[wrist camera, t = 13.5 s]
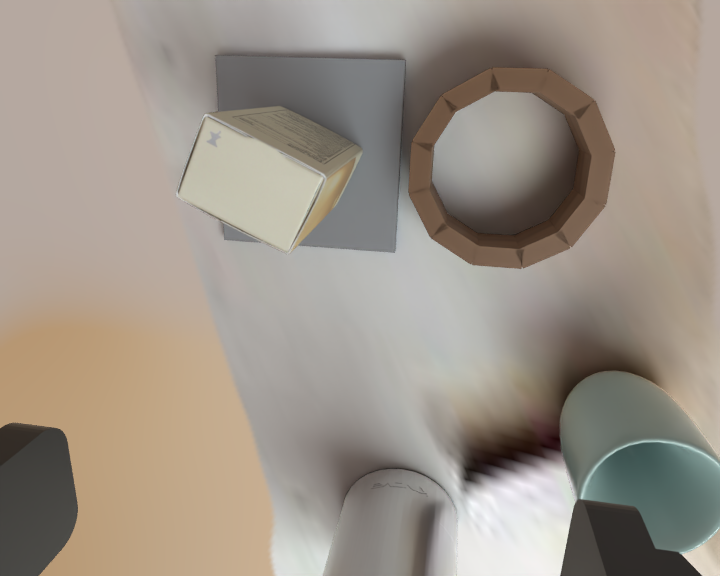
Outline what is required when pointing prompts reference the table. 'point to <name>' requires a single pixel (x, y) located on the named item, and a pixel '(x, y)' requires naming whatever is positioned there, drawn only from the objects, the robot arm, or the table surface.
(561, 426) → the cup
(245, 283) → the table surface
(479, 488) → the table surface
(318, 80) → the mat
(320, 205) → the skincare box
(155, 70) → the table surface
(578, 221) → the holder ring
